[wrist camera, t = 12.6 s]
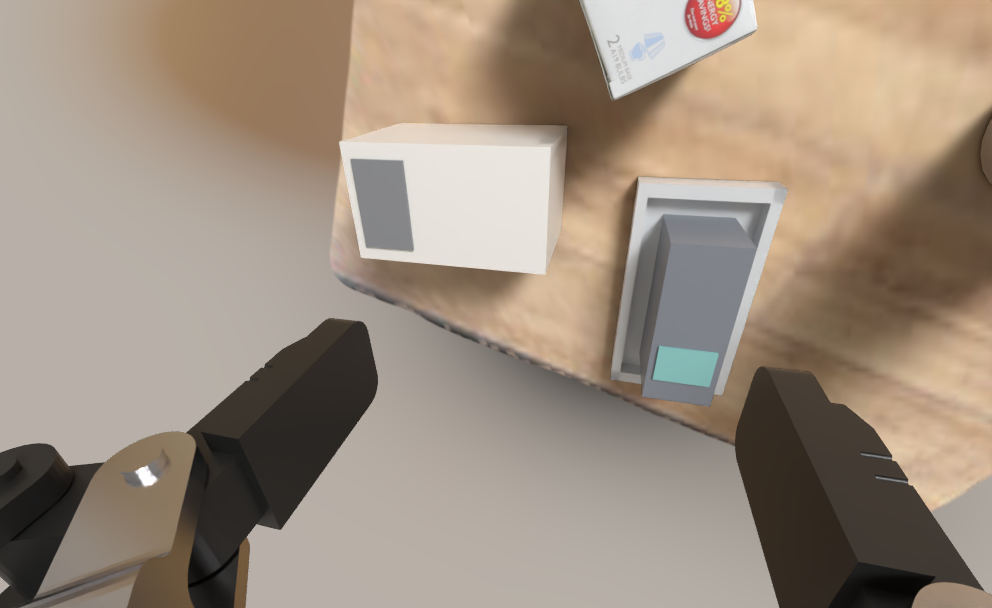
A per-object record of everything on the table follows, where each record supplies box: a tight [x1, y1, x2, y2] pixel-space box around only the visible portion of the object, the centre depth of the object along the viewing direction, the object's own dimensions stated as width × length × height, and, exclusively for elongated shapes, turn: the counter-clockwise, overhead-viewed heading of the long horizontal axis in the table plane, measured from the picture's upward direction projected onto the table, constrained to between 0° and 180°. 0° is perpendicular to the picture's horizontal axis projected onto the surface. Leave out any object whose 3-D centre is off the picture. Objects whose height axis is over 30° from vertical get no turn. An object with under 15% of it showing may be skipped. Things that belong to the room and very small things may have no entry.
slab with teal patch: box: [639, 214, 757, 407], centre depth 33 cm, size 5×13×6 cm, turn 1°
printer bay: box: [339, 123, 568, 275], centre depth 31 cm, size 14×8×9 cm, turn 90°
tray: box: [610, 176, 788, 395], centre depth 35 cm, size 10×18×2 cm, turn 0°
